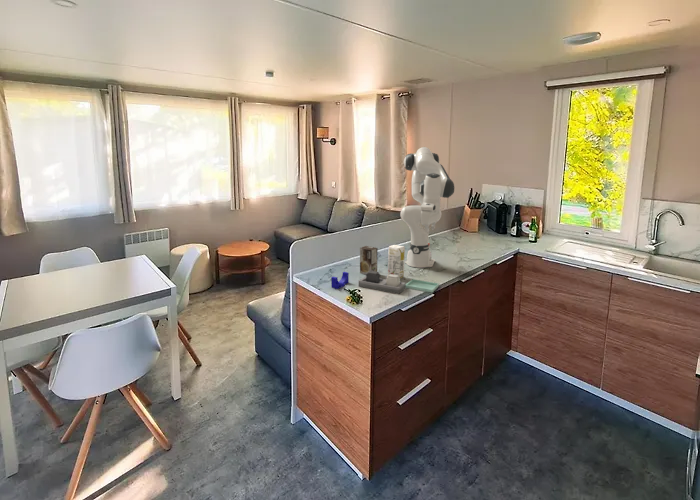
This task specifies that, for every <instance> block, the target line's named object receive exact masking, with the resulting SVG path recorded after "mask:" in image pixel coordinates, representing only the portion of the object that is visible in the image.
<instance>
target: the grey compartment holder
mask: <svg viewBox="0 0 700 500" xmlns="http://www.w3.org/2000/svg"><path fill="white" fill-rule="evenodd" d="M365 275H366V276H364V277H362V278H361V279H359V280H358V287H360V288H366V289H372V290H375V291H376V290H377V291H383V292H387V293H391V294H397V295H399V294H401V293H402V292H403V291H404V290H405V289H407V288H406V284H407V282H405V281H400V285H399V286H398V287H393V286H387V285H386V278H381V277H380V276H381V275H380V272H379V271H377V272H375V271H369V272H368V273H367V274H365Z"/></svg>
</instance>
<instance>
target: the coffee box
mask: <svg viewBox="0 0 700 500" xmlns="http://www.w3.org/2000/svg"><path fill="white" fill-rule="evenodd" d="M369 271H375V272H378V247H376V246H375V247H374V246H369V245H368V246H367V245H364V246H362V247H359V274H363V275H366V274H367V273H368V272H369Z"/></svg>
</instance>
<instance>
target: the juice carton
mask: <svg viewBox="0 0 700 500" xmlns="http://www.w3.org/2000/svg"><path fill="white" fill-rule="evenodd" d="M405 249H406V248H405V246H404V245H399V244H392V245H389V246H388V251H387V252H388V256H387V257H388V259H387V276H388V275H390V274H393V275H399V277H400V279H402V278H404V275H405V258H406V257H405V254H406V250H405Z"/></svg>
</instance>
